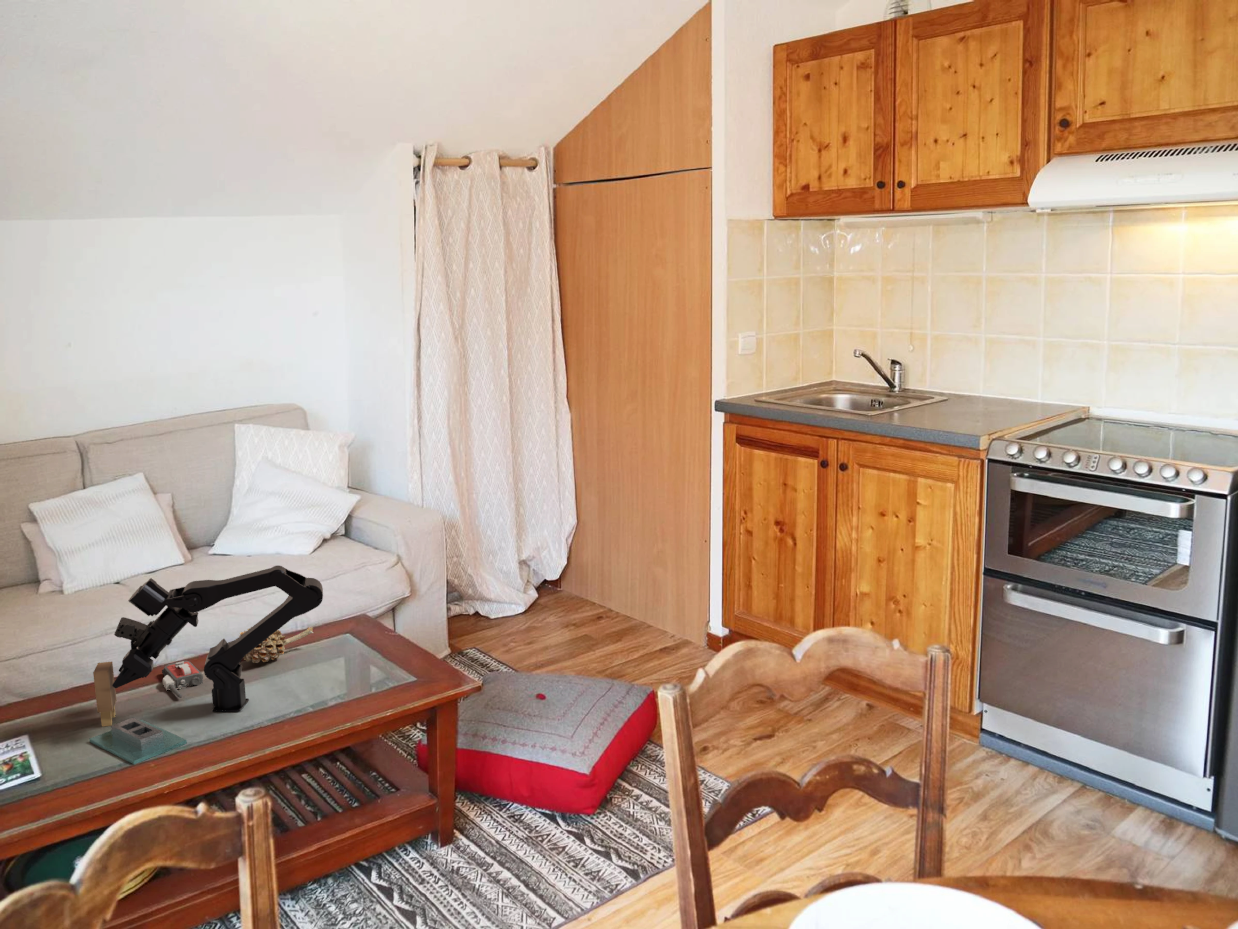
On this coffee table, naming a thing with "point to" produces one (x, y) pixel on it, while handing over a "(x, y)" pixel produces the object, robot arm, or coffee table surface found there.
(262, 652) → the dried banksia seed pod
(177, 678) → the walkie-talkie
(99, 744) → the teal holder base
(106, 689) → the tan cardboard brick
